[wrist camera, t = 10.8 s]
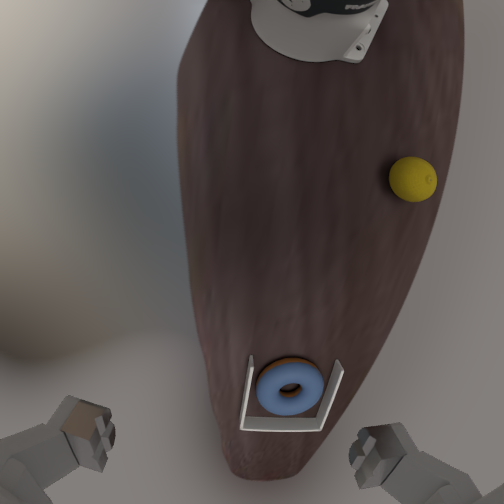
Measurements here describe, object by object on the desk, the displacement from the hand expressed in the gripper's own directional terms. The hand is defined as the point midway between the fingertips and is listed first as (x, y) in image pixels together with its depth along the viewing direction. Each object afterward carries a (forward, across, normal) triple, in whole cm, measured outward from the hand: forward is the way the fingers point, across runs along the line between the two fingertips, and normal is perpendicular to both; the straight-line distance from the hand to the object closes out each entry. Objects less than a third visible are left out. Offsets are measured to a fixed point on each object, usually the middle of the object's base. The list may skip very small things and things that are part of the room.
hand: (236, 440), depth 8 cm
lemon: (+29, -19, -12) cm, 37 cm away
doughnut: (+29, -10, +20) cm, 36 cm away
